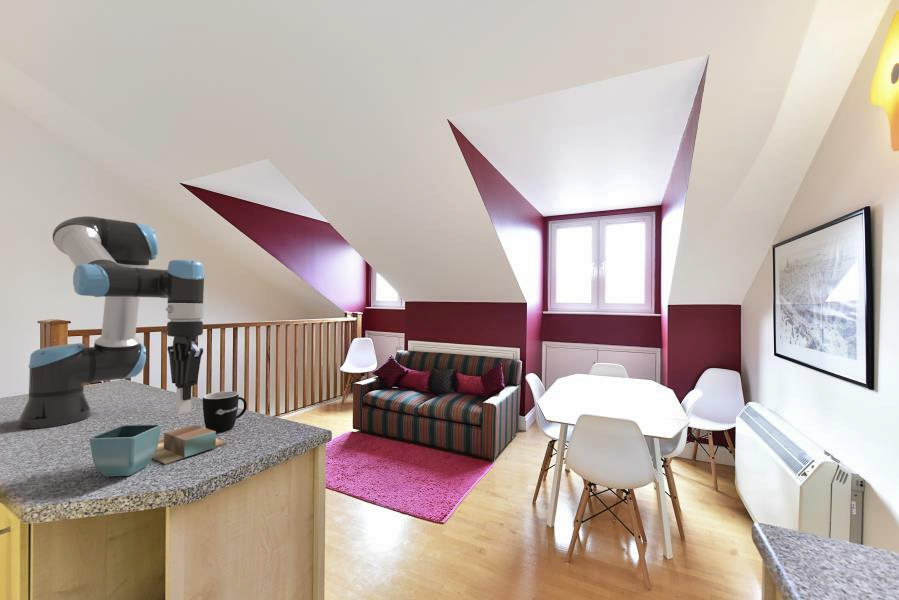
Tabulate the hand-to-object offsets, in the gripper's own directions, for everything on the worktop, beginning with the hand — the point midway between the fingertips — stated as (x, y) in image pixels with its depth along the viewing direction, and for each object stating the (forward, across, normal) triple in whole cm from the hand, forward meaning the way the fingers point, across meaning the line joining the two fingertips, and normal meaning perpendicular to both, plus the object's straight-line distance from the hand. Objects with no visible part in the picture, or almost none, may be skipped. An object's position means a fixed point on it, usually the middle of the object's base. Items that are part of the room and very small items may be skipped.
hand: (183, 412), depth 93 cm
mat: (+9, -2, 0) cm, 9 cm away
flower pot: (+9, +4, -13) cm, 16 cm away
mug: (+9, -6, +14) cm, 18 cm away
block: (+7, -2, 0) cm, 7 cm away
